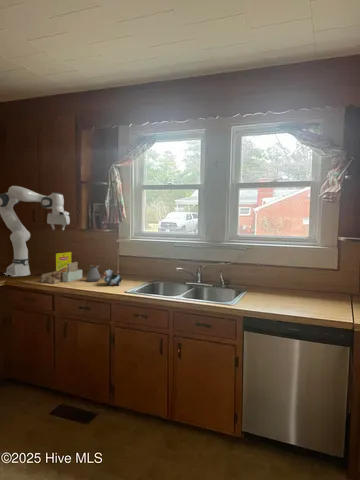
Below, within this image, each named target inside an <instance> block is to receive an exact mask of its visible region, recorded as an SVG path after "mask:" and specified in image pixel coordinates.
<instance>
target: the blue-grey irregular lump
mask: <svg viewBox="0 0 360 480" xmlns="http://www.w3.org/2000/svg"><path fill="white" fill-rule="evenodd" d="M101 276H102V279H103V281H104V283H106V284H107V285H110V286H112V287H118V286H120V285H121V282H122V280H123V277H122V276H121V275H120V274H117V273H115V272H114V270H111V269H110V268H109V269H106V268H105V269H104V272H103V273H102V274H101Z"/></svg>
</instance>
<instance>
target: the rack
mask: <svg viewBox="0 0 360 480" xmlns="http://www.w3.org/2000/svg"><path fill="white" fill-rule="evenodd" d="M55 271H56V270H55ZM55 271H51V272H46V273H42V274H41V275H40V283H44V282H45V284H58V283H61V282H63V277H61V278H57V279H55V277H53V273H54V272H55ZM62 275H63V273H62Z"/></svg>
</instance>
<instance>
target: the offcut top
mask: <svg viewBox="0 0 360 480" xmlns="http://www.w3.org/2000/svg"><path fill="white" fill-rule="evenodd" d="M53 272H54V271H53ZM61 276H62V271H56V270H55V272H54V273H53V277H55V278H60V277H61Z"/></svg>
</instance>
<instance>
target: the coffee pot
mask: <svg viewBox="0 0 360 480" xmlns="http://www.w3.org/2000/svg"><path fill="white" fill-rule="evenodd" d="M104 263H107V260H103V262H100V264H98V265H97V264H90V265H89V267H90V268H89V271H88V273H87V275H86V280H87V281H88V282H91V283H93V282H96V283H97V282H99V281H100V279H101V276H102V275H100V273H99V270H98V268H99V267H100V266H102V265H103V264H104Z"/></svg>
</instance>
